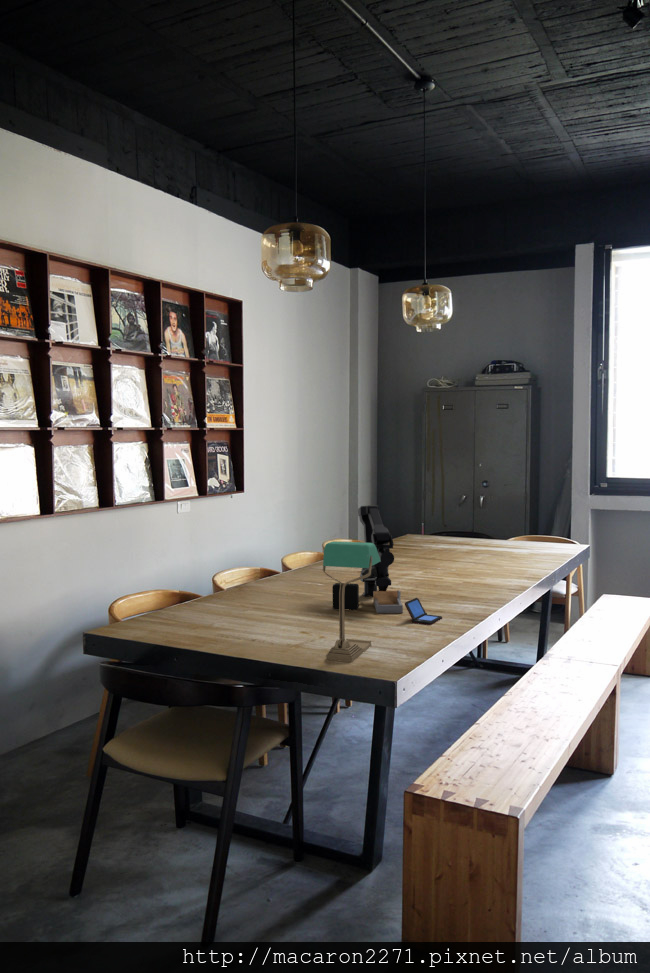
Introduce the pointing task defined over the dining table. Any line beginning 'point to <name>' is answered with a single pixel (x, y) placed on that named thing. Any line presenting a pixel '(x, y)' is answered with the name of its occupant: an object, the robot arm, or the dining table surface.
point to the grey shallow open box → (389, 607)
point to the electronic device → (346, 596)
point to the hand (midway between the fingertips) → (381, 598)
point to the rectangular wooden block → (386, 596)
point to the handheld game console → (420, 613)
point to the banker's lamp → (344, 557)
